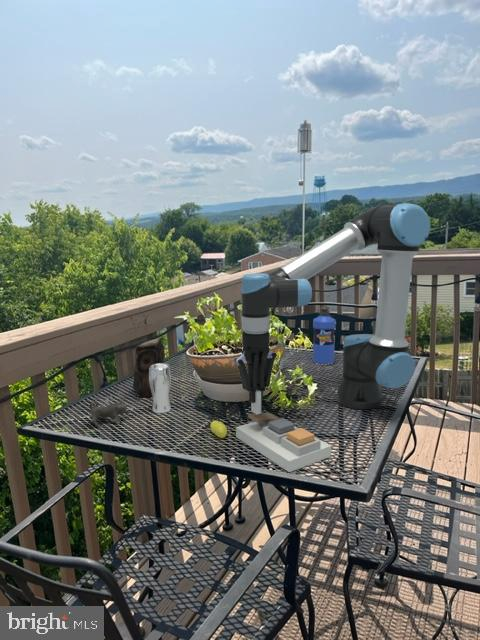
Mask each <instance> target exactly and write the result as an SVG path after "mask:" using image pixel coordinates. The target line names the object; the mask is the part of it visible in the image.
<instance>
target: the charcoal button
mask: <svg viewBox="0 0 480 640" xmlns="http://www.w3.org/2000/svg"><path fill="white" fill-rule="evenodd" d="M294 426H295V423H293V422H292V421H289V420H287V419H285V418H283V417H282V418H281V419H278V420H274V421H271V422H268V429H270V430H272V431H274V432H275V433H277V434H279V435H281V434H284V433H287V432H290V431H293V430H294Z"/></svg>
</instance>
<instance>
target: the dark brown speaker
mask: <svg viewBox="0 0 480 640" xmlns="http://www.w3.org/2000/svg"><path fill="white" fill-rule="evenodd" d="M165 357H166V355H165V347H164V344H163V341H162V336H161V337H157V338H155V339H151V340H148V341H145V342H143V343H140V345H139V344H137V345H136V347H135V353H134V358H135V363H134V370H133V371H134V372H133V373H134V374H133V383H132V384H133V385H132V387H133V391H134V390H135V391H134V392H135V394H136V393H137V394H136V396H137V395H139V396H138V398H139V397H140V398H151V397H152V393H151V389H150V384H149V366H150V365H153V364H158V363H164V364H165ZM140 398H139V399H140ZM151 399H152V398H151Z"/></svg>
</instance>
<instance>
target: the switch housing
mask: <svg viewBox="0 0 480 640" xmlns="http://www.w3.org/2000/svg"><path fill="white" fill-rule="evenodd" d="M297 429H300V428H299V427H296V426H295V425H294V430H297ZM294 430H293V431H294ZM290 432H291V431H290ZM287 433H288V432H287ZM287 433H284V434H281V435H279V434H277V433H275V432H274V431H272V430H270V429H268V423H257V422H255V421H252V422H249V423H246V424H242V425H239V426H236V427H235V437H236V438H237V439H238V440H240V441H241V442H243V443H244V444H246V445H248V446H249V447H250V448H252V449H253V450H255V451H257V452H258V453H260V454H261V455H263V456H264V457H265V458H267V459H268V460H270V461H271V462H273V463H275V464H276V465H277V466H279V467H280V468H282V469H284V470H285V471H287V472H288V473H292V472H294V471H298V470H300V469H302V468H304V467H308V466H310V465H312V464H315V463H317V462H320V461H323V460H325V459H328V458H330V457H331V456H332V445H330V444H328V443H327V442H325V441H323V440H321V439H319V438H318V437H316V436H314V441H313V442H311V443H308V444H305V445H302V446H298V445H296V444H294V443H293V442H291V441H289V440H287Z"/></svg>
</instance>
